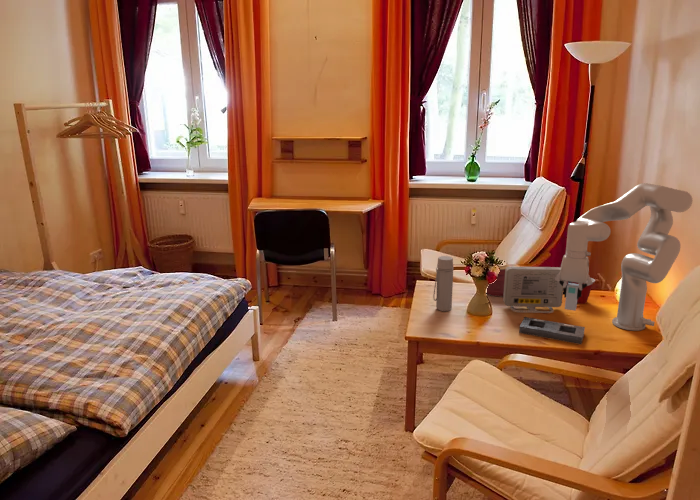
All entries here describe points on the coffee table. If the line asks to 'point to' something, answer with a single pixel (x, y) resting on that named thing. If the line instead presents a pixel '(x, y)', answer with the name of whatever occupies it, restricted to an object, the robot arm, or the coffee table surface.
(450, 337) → the coffee table surface
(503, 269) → the canister
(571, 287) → the plug
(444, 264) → the water bottle
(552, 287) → the network device
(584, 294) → the plastic cup
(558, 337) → the panel
